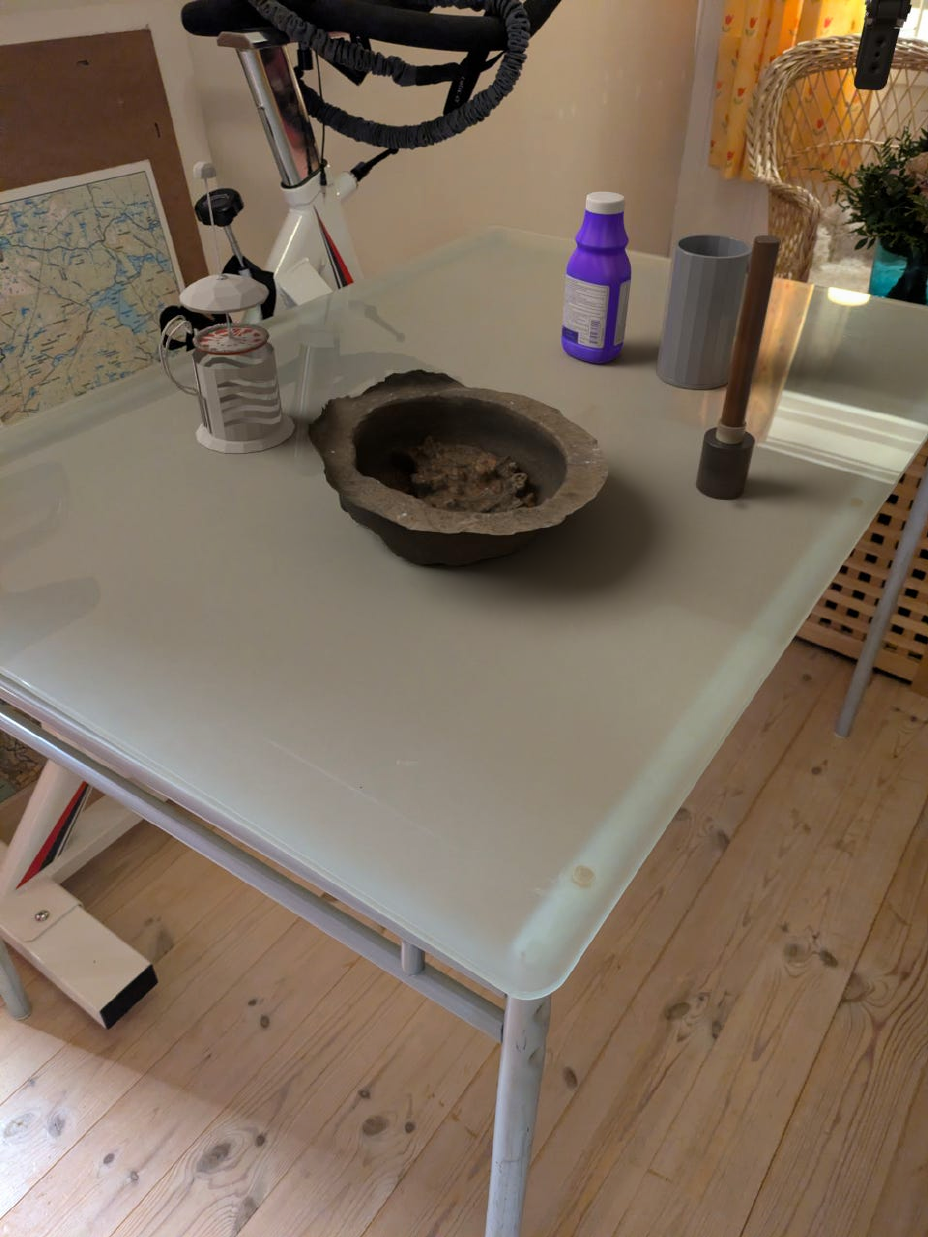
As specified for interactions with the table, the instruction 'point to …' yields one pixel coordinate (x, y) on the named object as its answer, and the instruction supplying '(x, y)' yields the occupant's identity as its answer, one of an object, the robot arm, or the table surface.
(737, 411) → the brush
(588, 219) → the bottle
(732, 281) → the cylindrical container
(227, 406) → the french press
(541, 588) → the table surface
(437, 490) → the stone bowl
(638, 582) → the table surface
